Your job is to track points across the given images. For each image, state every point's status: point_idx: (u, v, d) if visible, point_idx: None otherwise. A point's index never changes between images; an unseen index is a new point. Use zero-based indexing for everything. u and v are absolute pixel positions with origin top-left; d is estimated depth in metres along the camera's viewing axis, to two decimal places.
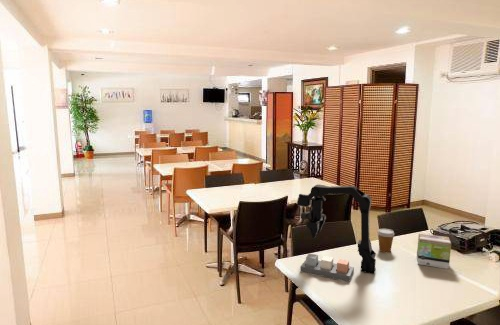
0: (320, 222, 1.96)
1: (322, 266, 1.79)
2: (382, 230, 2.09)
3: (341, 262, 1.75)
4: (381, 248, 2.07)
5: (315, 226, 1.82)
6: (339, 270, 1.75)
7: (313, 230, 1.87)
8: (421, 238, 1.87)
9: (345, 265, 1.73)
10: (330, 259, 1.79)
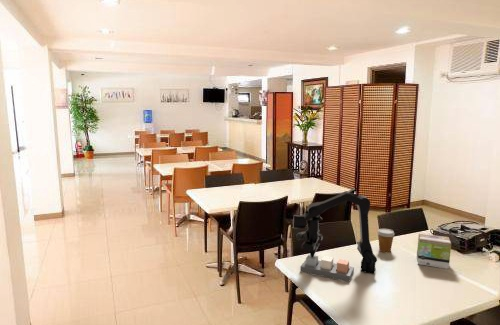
0: None
1: (322, 266, 1.79)
2: (382, 230, 2.09)
3: (341, 262, 1.75)
4: (381, 248, 2.07)
5: (311, 248, 1.73)
6: (339, 270, 1.75)
7: None
8: (421, 238, 1.87)
9: (345, 265, 1.73)
10: (330, 259, 1.79)
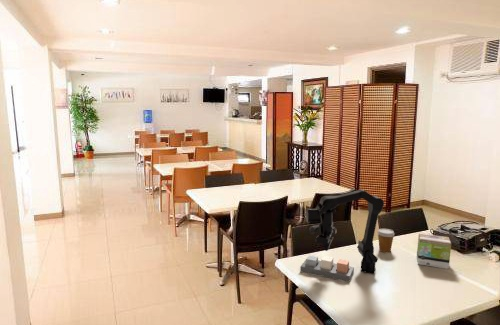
0: None
1: (322, 266, 1.79)
2: (382, 230, 2.09)
3: (341, 262, 1.75)
4: (381, 248, 2.07)
5: (325, 241, 1.69)
6: (339, 270, 1.75)
7: None
8: (421, 238, 1.87)
9: (345, 265, 1.73)
10: (330, 259, 1.79)
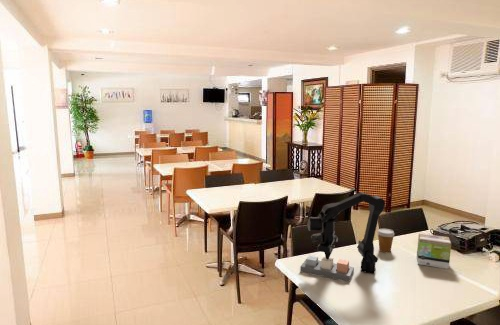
0: None
1: (322, 266, 1.79)
2: (382, 230, 2.09)
3: (341, 262, 1.75)
4: (381, 248, 2.07)
5: (327, 250, 1.69)
6: (339, 270, 1.75)
7: None
8: (421, 238, 1.87)
9: (345, 265, 1.73)
10: (330, 259, 1.79)
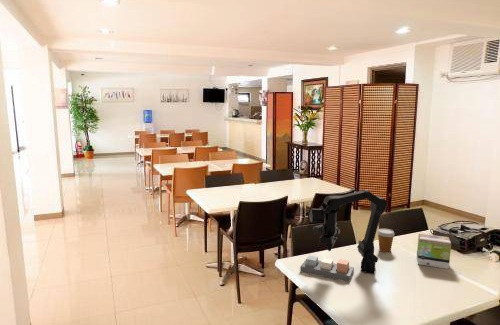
0: None
1: None
2: (382, 230, 2.09)
3: (341, 262, 1.75)
4: (381, 248, 2.07)
5: (329, 242, 1.68)
6: (339, 270, 1.75)
7: None
8: (421, 238, 1.87)
9: (345, 265, 1.73)
10: (330, 261, 1.79)
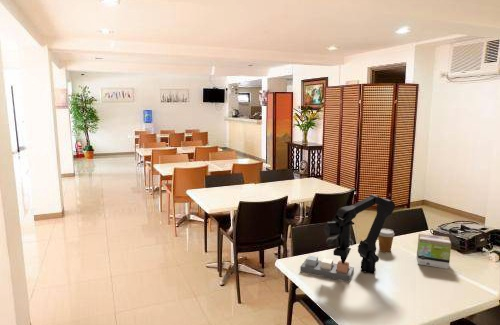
0: None
1: None
2: (382, 230, 2.09)
3: (341, 263, 1.75)
4: (381, 248, 2.07)
5: (344, 254, 1.66)
6: (339, 271, 1.75)
7: None
8: (421, 238, 1.87)
9: (345, 266, 1.73)
10: (330, 261, 1.79)
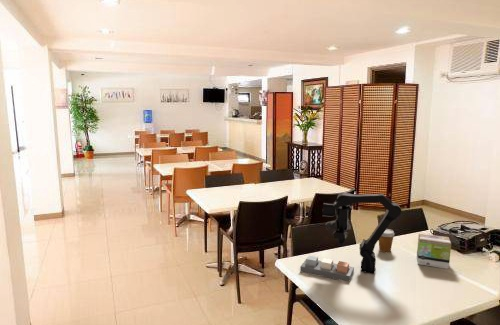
0: None
1: None
2: None
3: (341, 264, 1.75)
4: (381, 248, 2.07)
5: (343, 237, 1.74)
6: None
7: None
8: (421, 238, 1.87)
9: (345, 267, 1.73)
10: (330, 261, 1.79)
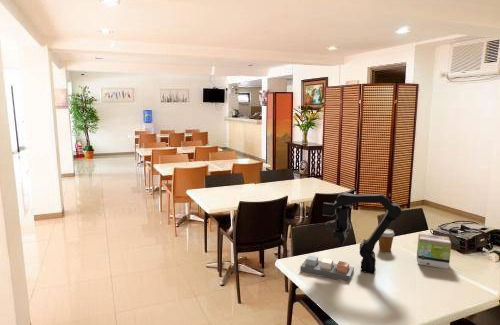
0: None
1: None
2: None
3: (341, 264, 1.75)
4: (381, 248, 2.07)
5: (342, 236, 1.75)
6: None
7: (341, 237, 1.83)
8: (421, 238, 1.87)
9: (345, 267, 1.73)
10: (330, 261, 1.79)
